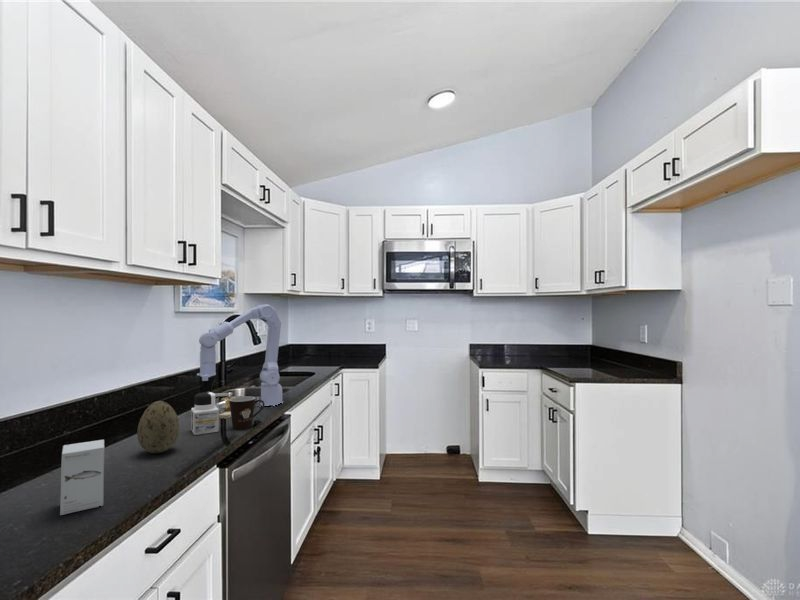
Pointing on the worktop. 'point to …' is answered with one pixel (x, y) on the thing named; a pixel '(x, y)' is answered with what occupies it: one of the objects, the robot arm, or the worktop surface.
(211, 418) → the container
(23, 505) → the worktop surface
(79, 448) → the supplement box
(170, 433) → the decorative egg
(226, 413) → the mounting board
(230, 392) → the valve lever
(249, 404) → the coffee mug
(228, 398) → the valve pipe
